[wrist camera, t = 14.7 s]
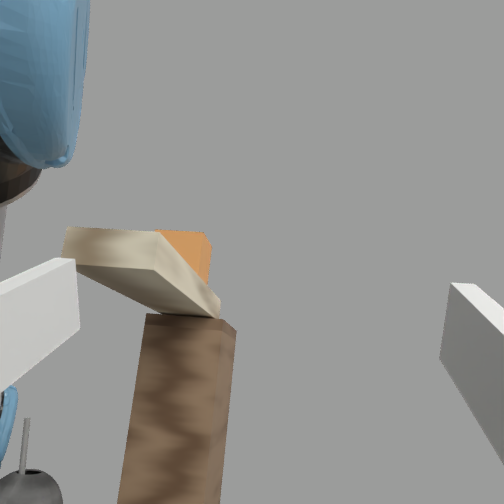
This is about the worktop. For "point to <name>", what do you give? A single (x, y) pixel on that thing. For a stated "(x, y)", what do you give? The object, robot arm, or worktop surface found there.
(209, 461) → the stand
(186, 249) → the cube
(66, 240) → the slat
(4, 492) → the beverage cup
